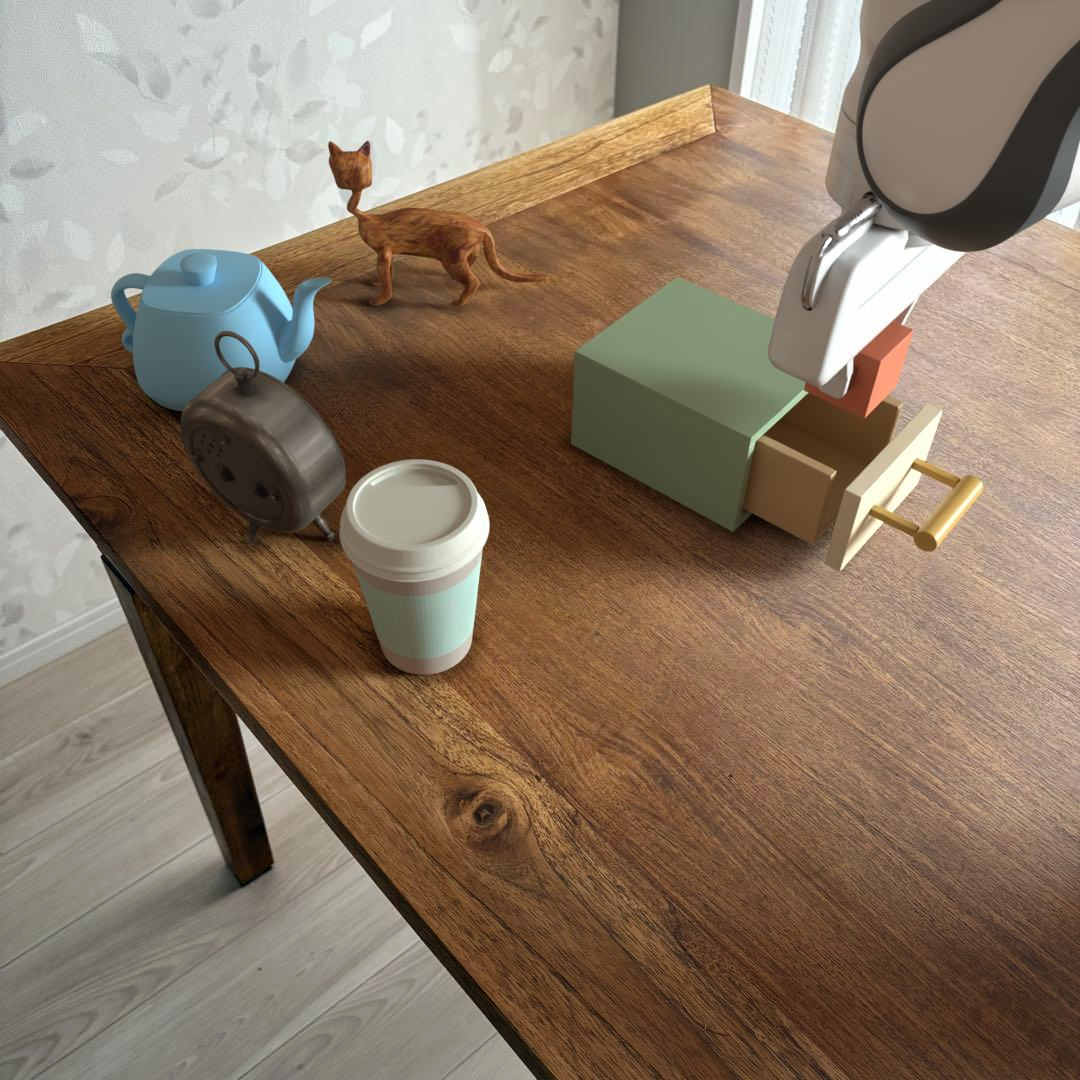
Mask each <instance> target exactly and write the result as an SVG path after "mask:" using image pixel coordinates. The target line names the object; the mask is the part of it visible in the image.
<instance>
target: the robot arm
mask: <svg viewBox="0 0 1080 1080" xmlns="http://www.w3.org/2000/svg"><path fill="white" fill-rule="evenodd" d="M859 37H860V38H859V39H860V45H859V46H860V48H859V54H858V55H859V56H858V60H857V62H856V66H855V68H854V71H853V72H852V74H851V76H850V78H849V80H848V82H847V84H846V86H845V88H844V91H843V95H842V98H841V103H840V104H841V105H840V108H839V112H838V117H837V122H836V126H835V132H834V136H833V140H832V146H831V150H830V156H829V160H828V165H827V168H826V169H827V170H826V175H825V179H824V182H825V183H824V185H825V188H826V191H827V193H828V195H829V197H830V199H832V201H833V202H834V203H836V205H837V206H838V207H840V208H841V211H840V212H841V213H840V215H839V216H837V217H836V218H833V219H832V220H830V222H829V223H828V224H827V225H826V226H824V227H823V228H822V229H821V230H819V231H818V232H816V234H814V235H813V236H811V237H810V238H809V239H808V240H807V241H806V242H805V243H804V244H803V245H802V246H801V248H800V249H799V251H798V253H797V254H796V256H795V258H794V259H793V260H792V264H791V265H790V269H789V270H788V274H787V277H786V279H785V283H784V286H783V289H782V293H781V296H780V300H779V303H778V306H777V310H776V314H775V318H774V319H775V321H774V325H773V329H772V333H771V337H770V341H769V346H768V357H769V360H770V362H771V363H772V365H773V366H774V367H775V368H776V369H778V370H780V371H782V372H784V373H786V374H788V375H790V376H792V377H795V378H797V379H799V380H801V381H804V382H806V383H808V384H811V385H814V386H818V388H819V390H820V391H821V392H823V393H825V394H827V395H830V396H832V397H834V398H837V399H839V398H842V397H843V396H844V395H845V394H846V393H847V392H848V391H849V390H850V389H851V388H852V387H853V386H854V382H855V378H856V375H857V371H858V368H859V367H856V366H854V365H853V358H854V357H855V356H856V355H857V354H858V353H859V352H860V351H861V350H862V349H863V348H864V347H865V346H866V345H867V344H868V343H870V342H871V341H872V340H873V339H874V338H875V337H876V336H877V335H878V334H879V333H880V332H881V331H882V330H883V329H884V328H886V327H887V326H888V325H889V324H890V323H891V322H892V321H894V322H896V323H898V324H901V325H903V326H905V323H906V321H907V320H908V318H909V316H910V314H911V312H912V311H913V308H914V307H915V305H916V303H917V302H918V300H919V298H920V296H921V295H922V294H923V293H924V292H925V291H926V290H927V289H929V288H930V287H931V286H932V285H933V284H934V283H935V282H936V281H937V280H938V279H939V278H940V277H942V275H944V273H946V272H947V271H948V270H949V269H950V268H951V267H952V266H953V265H954V264H955V263H956V262H957V261H958V260H960V259H961V258H962V257H963V256H964V255H965V254H966V253H974V252H975V253H976V252H982V251H985V250H988V249H991V248H994V247H996V246H999V245H1000V244H1002V243H1004V242H1005V241H1007V240H1009V239H1011V238H1012V237H1013V238H1014V237H1015V236H1016V235H1019V233H1021V232H1024V231H1025V230H1027V229H1029V228H1031V227H1032V226H1034V225H1036V224H1037V223H1039V222H1041V221H1043V220H1044V219H1045V218H1047V216H1049V215H1051V214H1054V213H1056V212H1058V211H1061V210H1063V209H1065V208H1067V207H1069V206H1070V207H1071V206H1072V205H1074V204H1077V203H1079V202H1080V0H862V4H861V8H860V13H859Z"/></svg>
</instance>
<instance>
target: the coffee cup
mask: <svg viewBox="0 0 1080 1080" xmlns="http://www.w3.org/2000/svg"><path fill="white" fill-rule="evenodd" d="M490 526H491V524H490V516H489V514H488V511H487V506H486V503H485V501H484V499H483V498H482V497H481V494H480V493H479V492H478V491H477V488H476V485H475V484H474V483H473V482H472V480H471V479H470V477H468V476H467V475H466V474H465V473H464V472H462V471H461V470H459V469H458V468H456V467H454V466H452V465H450V464H446V463H444V462H441V461H436V460H431V459H419V458H418V459H417V458H415V459H412V458H411V459H403V460H397V461H393V462H389V463H387V464H383V465H381V466H379V467H377V468H374V469H372V470H371V471H368V473H366V474H365V475H363V476H362V477H361V478H360V479H359V480H357V482H356V483H355V484H354V485H353V486H352V488H351V489H350V491H349V494H348V496H347V498H346V502H345V505H344V507H343V509H342V512H341V516H340V521H339V541H340V544H341V547H342V550H343V552H344V554H345V556H347V558H348V559H349V560H350V561H351V562H352V565H353V568H354V571H355V575H356V577H357V580H358V583H359V586H360V589H361V593H362V595H363V598H364V601H365V604H366V607H367V610H368V613H369V616H370V619H371V622H372V625H373V628H374V632H375V634H376V636H377V640H378V642H379V646H380V649H381V651H382V653H383V656H384V657H385V659H386V660H387V661H388V662H389V663H390V664H391V665H392V666H393V667H395V668H396V669H399V670H400V671H403V672H405V673H409V674H413V675H422V676H423V675H424V676H425V675H427V676H428V675H432V674H433V675H434V674H439V673H443V672H445V671H448V670H450V669H451V668H453V667H455V666H456V665H458V664H459V663H460V662H461V661H463V660H464V658H465V657H466V656H467V654H468V652H469V651H470V649H471V645H472V643H473V634H474V625H475V618H476V609H477V601H478V592H479V584H480V583H479V582H480V575H481V567H482V559H483V551H484V550H483V548H484V547H485V545H486V543H487V540H488V537H489V534H490Z"/></svg>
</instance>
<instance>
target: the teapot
mask: <svg viewBox="0 0 1080 1080" xmlns="http://www.w3.org/2000/svg"><path fill="white" fill-rule="evenodd" d="M331 282H332V279H331V277H326V276H325V277H324V276H322V277H321V276H320V277H319V276H318V277H314V278H313V277H312V278H309V279H306V280H304V281H302V282H301V283H299V284H298V286H297V287H296V289H295V291H294V294H293V300H292V304H291V302H290V300H289V298H288V296H287V294H286V292H285V290H284V289H283V287H282V285H281V284H280V283H279V281H278V280H277V279H276V277H275V275H274V274H273V273H272V271H270V269H269V268H268V267H267V266H266V265H265V264H264V262H263V261H262V259H260V257H258V256H256V255H253V254H250V253H245V252H240V251H233V250H223V249H212V248H191V249H184V250H181V251H178V252H176V253H175V254H172V255H171V256H169V257H168V258H167V259H165V260H164V261H163V262H162V263H161V264H160V265H158V266H157V267H156V268H155V270H154V271H153V272H152V273H151V274H150V275H149V274H144V273H138V272H134V273H133V272H132V273H129V274H125V275H123V276H121V277H119V279H118V280H117V281H116V282H115V283H114V285H113V286H112V288H111V290H110V291H111V292H110V299H111V303H112V306H113V309H114V310H115V311H116V313H117V314H118V317H120V319H121V320H122V322H123V324H125V326H126V327H127V328H126V329H125V330H124V331H123V332H122V334H121V335H122V336H121V343H122V346H123V347H124V349H125V350H126V351H128V352H129V353H131V354H132V358H133V359H132V360H133V367H134V368H133V369H134V372H135V376H136V380H137V383H138V386H139V387H140V389H141V390H142V391H143V392H144V394H145V395H146V396H147V397H149V398H150V399H151V400H153V401H154V402H155V403H157V404H158V405H160V406H162V407H163V408H166V409H170V410H173V411H178V412H183V410H184V408H185V406H186V405H187V404H188V403H189V402H190V401H191V400H192V399H193V398H194V397H196V396H197V395H198V394H199V393H200V392H202V391H203V390H204V389H205V388H207V387H208V386H209V385H210V384H212V383H213V382H214V381H215V380H217V379H218V378H219V377H220V376H221V375H222V374H223V373H224V372H225V371H227V370H228V369H227V368H226V367H225V366H224V364H223V363H222V362H221V361H220V359H219V358H218V355H217V353H216V350H215V345H214V340H215V337H216V336H217V335H218V334H219V333H220V332H222V331H231V332H235V333H237V334H238V335H240V336H242V337H243V338H245V339H246V340H247V341H248V342H249V343H250V345H251V346H252V347H253V349H254V350H255V352H256V354H257V356H258V359H259V362H260V365H259V369H260V370H259V371H262V372H265V373H267V374H269V375H271V376H273V377H275V378H277V379H279V380H280V381H282V382H283V383H285V382H286V381H287V379H288V377H289V376H290V374H291V372H292V369H293V367H294V365H295V363H296V361H297V359H299V357H301V356H302V355H303V354H304V352H306V350H307V349H308V348H309V346H310V345H311V342H312V340H313V338H314V332H315V312H314V300H315V297H316V294H317V293H318V291H320V290H322V289H323V288H324V287H325V286H327V285H329V284H330V283H331ZM127 289H138V290H141V294H140V298H139V301H138V304H137V310H136V311H135V309H134V308H133V306H132V305H131V303H130V302H129V300H128V298H127V295H126V293H125V290H127ZM219 348H220V351H221V353H222V355H223V357H224V358H225V360H226V361H227V362H228V364H229V365H230V366H231V367H232V368H236V367H246V368H252V369H255V363H254V359H253V357H252V355H251V354H250V352H249V350H248V349H247V348H246V347H245V346H244V345H243V344H242V343H241V342H240V341H239V340H238V339H235V338H233V337H230V336H225V337H222V338H221V339H220V342H219Z"/></svg>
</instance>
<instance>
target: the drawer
mask: <svg viewBox="0 0 1080 1080" xmlns="http://www.w3.org/2000/svg"><path fill="white" fill-rule="evenodd" d="M903 405H904V401H902V400H899V399H898V398H895V397H892V396H890V395H889V394H888V395H887V396H886V397H885V398H884V399H883V400H882V401H881V402H880V403H879V404H878V405H877V406H876V407H875V408H874V409H873V410H872V411H871V412H870V414H869V415H868V416H867V417H866V418H862V417H860V416H858V415H856V414H854V413H851V412H849V411H847V410H845V409H843V408H841V407H838V406H836V405H834V404H832V403H830V402H828V401H825V400H823V399H821V398H819V397H817V396H815V395H813V394H810V393H808V394H806V395H805V396H804V397H803V398H802V399H801V400H800V401H799V402H798V403H797V404H796V405H795V406H793V407H792V408H791V409H790V410H789V411H788V412H787V413H786V414H785V415H784V416H783V417H782V418H781V419H779V420H778V421H777V422H776V423H775V424H774V425H773V426H772V427H771V428H770V429H769V430H768V431H766V432H765V433H764V434H763V435H762V436H761V437H760V438H759V439H758V440H757V441H756V442H755V446H754V451H753V456H752V462H751V467H750V472H749V477H748V482H747V488H746V493H745V498H744V503H743V509H745V510H747V511H749V512H751V513H752V514H753V515H755V516H757V517H759V518H761V519H763V520H764V521H766V522H767V523H770V524H772V525H774V526H776V527H777V528H779V529H781V530H783V531H785V532H786V533H789V534H791V535H792V536H795V537H796V538H798V539H800V540H802V541H804V542H806V543H808V544H810V545H812V546H814V545H815V544H816V543H817V542H818V541H819V540H820V538H821V537H822V536H823V535H824V534H825V533H826V532H827V531H828V530H829V529H830V527H831V526H832V525H833V524H834V523H835V524H834V526H833V531H832V534H831V538H830V541H829V545H828V548H827V552H826V555H825V559H824V564H825V565H826V566H828V567H830V568H831V569H833V570H835V571H837V572H841V571H842V570H843V569H844V567H846V565H847V564H848V563H849V562H850V561H851V560H852V558H854V557H855V556H856V554H857V553H858V552H859V551H860V549H862V547H863V546H865V544H866V543H867V541H869V540H870V538H871V537H872V536H873V535H874V534H875V532H876V531H877V530H878V529H879V528H880V527H881V526H882V525H883V524H886V525H887V526H888V525H889V526H891V527H892V528H895V529H897V530H899V531H900V532H902V533H904V534H906V535H908V536H910V537H912V538H913V542H914V545H915V546H916V548H918V549H919V550H921V551H923V552H926V553H927V552H928V553H931V552H934V551H936V550H937V548H938V547H939V546H940V545H941V543H942V542H943V541H944V540H945V539H946V537H948V535H949V534H950V532H951V531H952V530H953V529H954V527H956V525H957V524H958V522H959V521H960V520H961V519H962V518H963V516H965V514H966V513H967V512H968V511H969V509H970V508H971V507H972V506H973V504H974V503H975V502H976V501H977V499H978V498H979V497H981V494H982V493H983V492H984V484H983V482H982V480H981V479H980V478H978V477H977V476H975V475H973V474H972V475H971V474H968V475H964V476H962V477H960V476H958V475H955V474H953V473H951V472H948V471H946V470H944V469H942V468H940V467H939V466H938V467H937V466H936V465H934V464H931V463H929V462H927V458H928V455H929V453H930V449H931V446H932V443H933V440H934V437H935V434H936V432H937V429H938V426H939V423H940V419H941V417H942V413H943V409H941V408H938V407H937V406H934V405H933V404H930V403H927V402H926V403H925V404H924V405H923V407H922V408H921V409H920V410H918V412H917V413H916V414H915V415H914V416H913V417H912V418H911V419H910V420H909V421H908V422H907V423H906V425H905V426H904V427H903V428H901V430H900V431H898V433H897V434H896V435H895V431H896V428H897V426H898V422H899V419H900V416H901V413H902V409H903ZM922 475H925V476H927V477H929V478H931V479H933V480H935V481H937V482H939V483H942V484H944V485H946V486H948V487H950V488H952V489H951V490H950V491H949V492H948V494H947V495H946V496H945V497H944V498H943V500H942V501H941V502H940V503H939V504H938V506H937V507H936V508H935V509H934V510H933V511H932V512H931V514H930V515H928V517H927V518H926V520H925V521H924V522H923V523H922V524H921V525H918V524H916V523H914V522H913V521H910V520H908V519H906V518H904V517H902V516H900V515H898V514H896V513H894V511H895V510H896V509H897V508H898V507H899V506H900V504H901V503H902V502H903V501H904V500H905V499H906V498H907V496H909V494H910V493H911V492H912V491H913V490H914V488H915V487H916V486H917V485H918V484H919V481H920V479H921V476H922Z"/></svg>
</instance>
